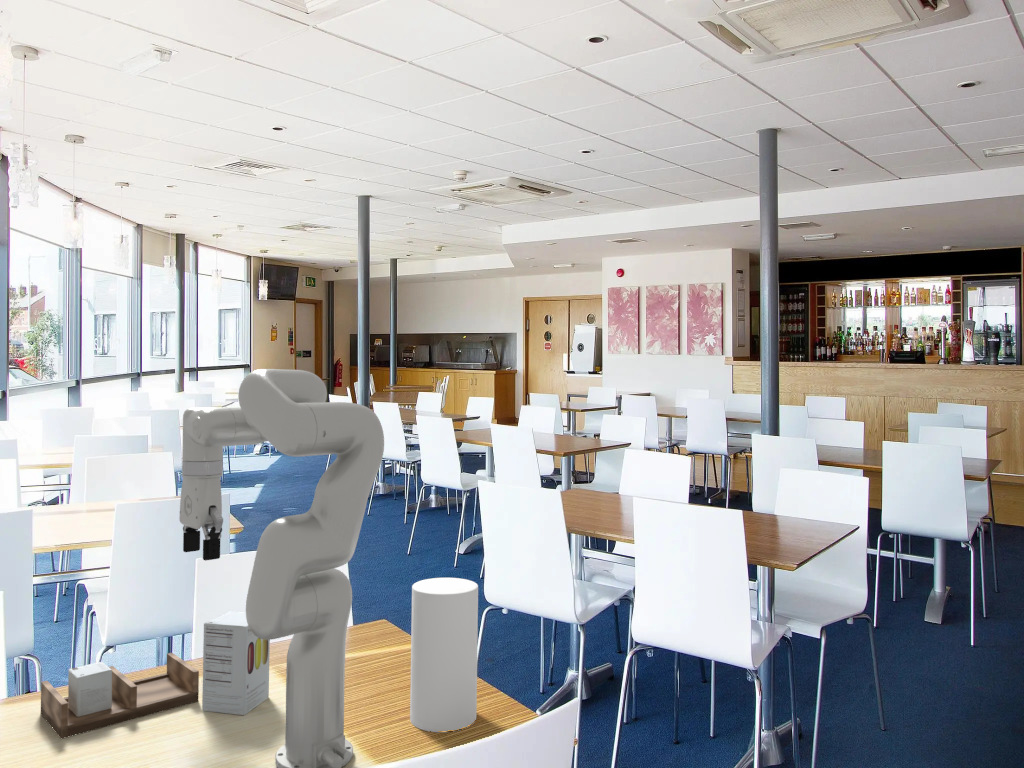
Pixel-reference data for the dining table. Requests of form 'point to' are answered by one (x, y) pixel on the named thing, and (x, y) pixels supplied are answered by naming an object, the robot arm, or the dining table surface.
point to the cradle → (125, 699)
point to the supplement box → (234, 665)
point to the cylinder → (444, 654)
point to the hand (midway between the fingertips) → (201, 555)
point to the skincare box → (89, 689)
